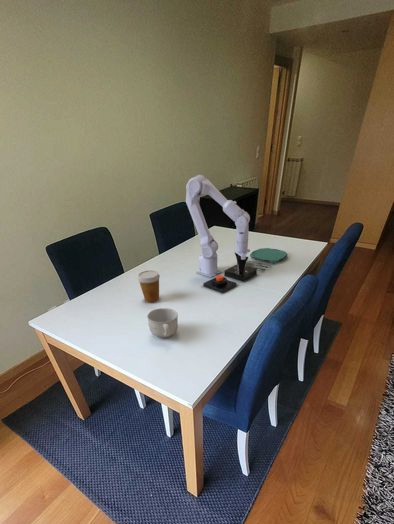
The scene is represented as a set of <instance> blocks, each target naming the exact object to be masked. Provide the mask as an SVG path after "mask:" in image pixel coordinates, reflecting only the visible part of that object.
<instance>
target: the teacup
mask: <svg viewBox="0 0 394 524" xmlns="http://www.w3.org/2000/svg"><path fill="white" fill-rule="evenodd" d="M178 317H179V314H178V312H177V311H176V310H175V309H172V308H170V307H169V308H168V307H162V308H161V307H160V308H155V309H152V310H151V311H149V312H148V313H147V316H146V318H147V323H148V328H149V331H150V333H151V334H152V335H153V336H156V337H157V338H168V337H171V336H172V335H174V334H175V333H176V332H177V330H178V326H179V325H178V322H179V321H178Z"/></svg>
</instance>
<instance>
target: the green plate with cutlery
mask: <svg viewBox="0 0 394 524" xmlns="http://www.w3.org/2000/svg"><path fill="white" fill-rule="evenodd" d="M249 257H250V258H251V259H254V260H256V261H253V260H247V261H246V264H245V266H247V267H251V268H255V269H257V271H258V270H259V271H260V270H261V271H263V272H265V271H266V269H269V268H271V267H272V265H269V264H265V263H262V262H268V263H269V262H271V263H272V264H273V265H275V264H277V263H278V262H279V261H283V260H284V259H286V258H287V257H288V253H287V252H286V251H285V250H281V249H277V248H270V247H261V248H258V249H255V250H253V251H252V252H251V253H250V254H249ZM258 261H259V262H258Z"/></svg>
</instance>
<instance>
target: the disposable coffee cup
mask: <svg viewBox="0 0 394 524" xmlns="http://www.w3.org/2000/svg"><path fill="white" fill-rule="evenodd" d="M160 276H161V275H160V274H159V272H158V271H156V270H153V269H148V270H147V269H146V270H143V271H141V272H139V273H138V274H137V278H136V279H137V281H138V283H139V285H140V288H141V292H142V295H143V298H144V301H145V303H149V304H152V303H153V304H154V303H157V302H159V300H160Z"/></svg>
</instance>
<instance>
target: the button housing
mask: <svg viewBox="0 0 394 524" xmlns="http://www.w3.org/2000/svg"><path fill="white" fill-rule="evenodd" d="M202 286H203V287H204V288H207V289H209V290H211V291H215V292H217V293H220V294H225V293H226V292H228V291H230V290H232V289H234V288H235V287H237V282H235V281H232V280H229V279H228V278H227V277H226V276H224V280H223V281H216V276H214V277H213V278H211V279H209V280H207V281H205V282H203V285H202Z"/></svg>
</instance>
